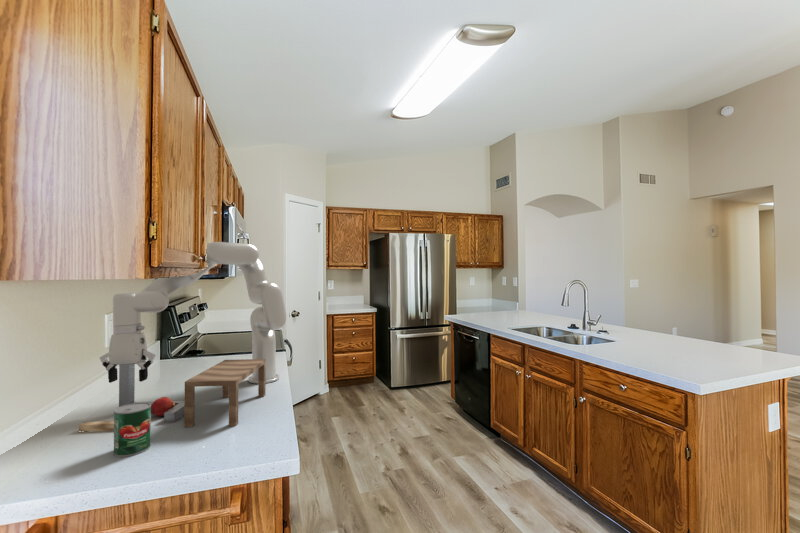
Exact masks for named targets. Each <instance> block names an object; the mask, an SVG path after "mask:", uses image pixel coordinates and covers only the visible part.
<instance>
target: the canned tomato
mask: <svg viewBox="0 0 800 533" xmlns="http://www.w3.org/2000/svg"><path fill="white" fill-rule="evenodd" d="M139 402H140V403H132V404H127V405H123V406H120V407H119V406H118V407H116V408H115V409H114V410H113V421H114V431H113V456H115V457H117V458H123V457H124V458H125V457H126V458H127V457H131V456H135V455H139V454H142V453H145V452H146V451H148V450H150V448H151V442H152V440H151V439H152V438H151V434H152V432H151V429H152V428H151V423H152V422H151V420H152V419H151V418H152V417H151V415H152V414H151V404H150V403H146V402H147V401H139Z"/></svg>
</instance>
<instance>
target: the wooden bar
mask: <svg viewBox="0 0 800 533" xmlns="http://www.w3.org/2000/svg"><path fill="white" fill-rule="evenodd" d="M112 430H113V431H112ZM79 431H97V432H111V431H112V432H114V420H102V421H101V420H99V421H84V422H82V423H80V424H79V425H78V432H79Z"/></svg>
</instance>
